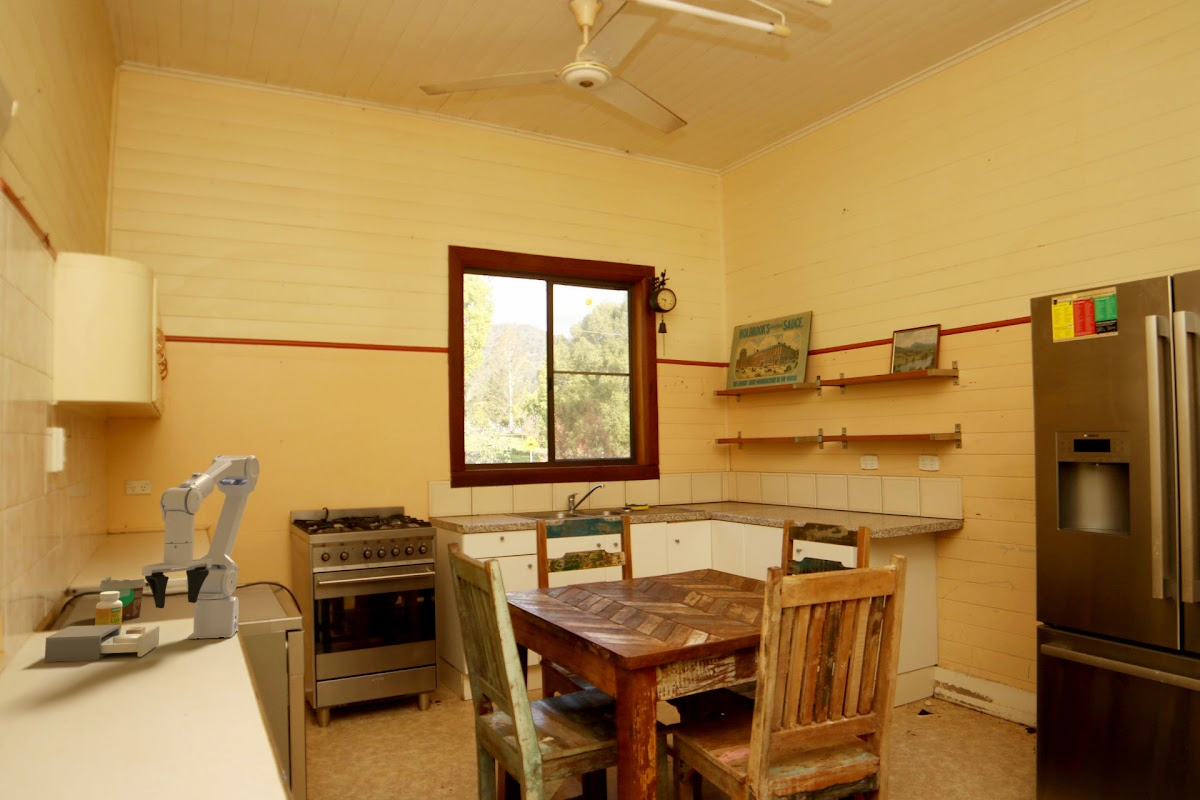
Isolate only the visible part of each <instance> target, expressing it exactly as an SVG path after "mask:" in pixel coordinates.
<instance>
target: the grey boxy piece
mask: <svg viewBox="0 0 1200 800" xmlns="http://www.w3.org/2000/svg"><path fill="white" fill-rule="evenodd" d="M119 632H120V625H95V624H94V625H71V626H68V627H65V628H64V629H61V630H59V631H57V632H55V633H53V634H50V635H49V636H47V637H45V648H44V652H45V653H44V663H45V662H47V663H54V662H53V661H71V662H86V661H87V662H89V661H90V662H91V661H92V662H93V661H100V660H101V659H103V658H104V657H106V656H108V655H109V654H110V653H101V640H102V639H104V638H105V637H107V636H119V635H120V633H121V632H120V633H119Z"/></svg>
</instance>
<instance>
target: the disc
mask: <svg viewBox="0 0 1200 800" xmlns="http://www.w3.org/2000/svg"><path fill="white" fill-rule="evenodd" d="M141 635H142V634H126V633H125V634H119V636H116V637H113V644H120V643H138V637H140V636H141Z"/></svg>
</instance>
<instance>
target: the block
mask: <svg viewBox="0 0 1200 800" xmlns="http://www.w3.org/2000/svg"><path fill="white" fill-rule="evenodd" d="M146 629H147V628H146V626H135V627H133V626H132V627H129V628H127V629H126V631H125V634H142V635H143V634H144V633H146Z"/></svg>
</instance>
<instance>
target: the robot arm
mask: <svg viewBox="0 0 1200 800" xmlns="http://www.w3.org/2000/svg"><path fill="white" fill-rule="evenodd" d="M260 471H261V470H260V462H259V460H258V458H257V456H256V455H253V454H250V455H223V454H218V455H216V456H215V457H213V458H212V460H211V465H210V466H209V467H208V469H207V470H205V472H193V473H192V474H191V476H190V477H189V478H188V479H186V480H185V481H182V482H181V484H180V485H178V486H177V487H169V488H168V489H166V490H164V491H163V493H162V495H161V497H160V501H159V507H160V510H161V513H162V521H163V522H164V537H163V539H164V540H163V542H164V543H163V561H162V562H159V563H154V564H148V565H142V568H141V569H142V571H141V576H144V580H146V581H145V582H147V584H148V586H149V588H150V590H151V593H152V596H153V600H154V605H155V608H157V609H164V608H165V605H166V604H165V603H166V592H167V585H168V582H169V579H170V577H169V576H167V575H165V574H169V573H175V572H185V573H186V584H185V585H186V590H187V601H188V603H192V604H194V609H193V632H192V633H190V634H189V635H188V636H187V637H186V638H187V640H193V639H194V640H195V639H197V638H199V639H219V637H224V638H232V637H233V636H234V635H235V634H236V633H237V632H238V631H239V614H240V612H239V610H240V608H239V607H240V605H239V604H240V603H239V602H240V601H239V598H238V596H232V594H233V593H234V592H235V591H236V589H237V586H238V575H239V566H238V565H237V563H236V562H235V561H234V560H233V559H232V558H231V556H232V553H233V550H234V546H235V544H236V540H237V537H238V532H239V530H240V526H241V523H242V519H243V516H244V512H245V509H246V507H247V503H248V499H249V496H250V494H252V492H254V491H255V489H256V485H257V482H258V479H259V476H260ZM215 485H216V486H217V488H218V491H219V492H221V493H223V494H224V495H225V499H224V501H223V504H222V508H221V511H220V515H219V517H218V519H217V522H216V523H217V524H216V526H215V531H214V533H213V536H212V539H211V542H210V546H209V548H208V551H207V554H205V555H204V556H202V557H201V558H199V559H194V538H195V536H194V534H195V517H196V516H195V515H196V513H198V512H199V510H200V508H201V505H202V503H203V501H204V500H205V499H206V498H207V497H208V496H210V495H211V494H212V493H213V492H214V490H215ZM236 631H237V632H236ZM235 632H236V633H235Z"/></svg>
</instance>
